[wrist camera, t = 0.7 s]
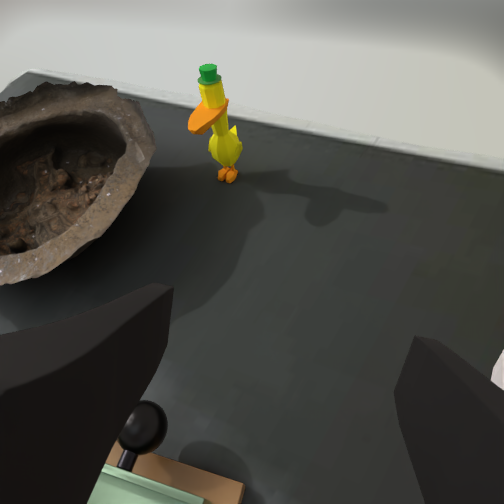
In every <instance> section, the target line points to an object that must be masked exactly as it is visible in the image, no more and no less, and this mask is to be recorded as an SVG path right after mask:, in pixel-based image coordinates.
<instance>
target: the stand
mask: <svg viewBox="0 0 504 504" xmlns="http://www.w3.org/2000/svg"><path fill="white" fill-rule="evenodd" d="M122 452H123V449H122V448H121V446H120V445H119V443H118V441H116V442H115V444H114V446H113V447H112V449H111V452H110V454H109V456H108V458H107V460H106V463H107V464H110V465H112V466H115V467H116V465H117V463H118V461H119V458H120V456H121V454H122ZM132 473H135V474H138V475H141V476H143V477H146V478H149V479H152V480H155V481H157V482H160V483H163V484H166V485H169V486H172V487H174V488H177V489H180V490H183V491H186V492H188V493H191V494H194V495H197V496H200V497H202V498H205V499H207V500H209V501H211V502H212V504H241V502H242V498H243V494H244V491H245V485H244V484H243V483H240V482H237V481H234V480H231V479H228V478H225V477H222V476H219V475H216V474H213V473H210V472H207V471H204V470H201V469H198V468H195V467H192V466H189V465H187V464H184V463H181V462H178V461H175V460H172V459H169V458H166V457H163V456H160V455H157V454H154V453H151V452H150V453H148V454H145V455H139V456H138V458H137V461H136V463H135V465H134V468H133V470H132Z"/></svg>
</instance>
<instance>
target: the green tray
mask: <svg viewBox="0 0 504 504" xmlns="http://www.w3.org/2000/svg"><path fill="white" fill-rule="evenodd" d="M167 428H168V422H167V417H166V414H165V412H164V410H163V409H162V408H161V407H160V406H159V405H158V404H156V403H154V402H152V401H148V400H141V401H139V402H138V404H137V405H136V407H135V409H134V410H133V412H132V414H131V416H130V417H129V419H128V421H127V422H126V424H125V426H124V427H123V429H122V431H121V433H120V434H119V436H118V438H117V441H118V443H119V445H120V446H121V448H122V449H123V452H122V454H121V456H120V458H119V461H118V463H117V465H116V467H115V466H112V465H110V464H107V463H105V465H104V467H103V469H102V471H101V473H100V476H99V478H98V480H97V482H96V484H95V487H94V489H93V491H92V493H91V496H90V498H89V500H88V503H87V504H212V502H211V501H209V500H207V499H205V498H202V497H200V496H197V495H194V494H191V493H188V492H186V491H183V490H180V489H177V488H174V487H172V486H169V485H166V484H163V483H160V482H157V481H155V480H152V479H149V478H146V477H143V476H141V475H138V474H135V473H132V470H133V468H134V465H135V463H136V461H137V458H138V456H139V455H145V454H148V453H150V452H152V451H154V450H155V449H157V448H158V447H159V446H160V445H161V443H162V442H163V440H164V438H165V436H166V433H167Z"/></svg>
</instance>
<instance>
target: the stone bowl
mask: <svg viewBox="0 0 504 504" xmlns="http://www.w3.org/2000/svg"><path fill="white" fill-rule="evenodd" d="M155 151H156V144H155V138H154V134H153V131H152V130H151V128H150V126H149V124H148V123H147V121H146V119H145V116H144V114H143V111H142V108H141V106H140V103H139V102H138V101H136V102H135V101H134V100H133V101H132V100H131V99H121V98H120V97H118V96H117V89H114V88H113V87H112V86H108V85H96V86H94V85H92V84H90V83H87V82H86V83H84V84H82V85H77V83H76V82H75V81H74V82H72V83H70V84H69V85H62V84H56V85H53V84H51V83H48V82H44V83H43V84H41V85H39V86H37V87H36V89H35V90H34V91H33V93H32V92H31V91H29V92H28V93H26V94H24V95H21V96H18V97H10V98H9V99H8V101H7V103H5V101H2V102H0V285H3V284H6V283H9V284H14V283H17V282H19V281H22V280H26V279H29V278H38V277H40V276H41V275H43V274H45V273H48V272H50V271H51V270H52V269H54V268H55V267H57V266H58V265H60V264H61V263H63V262H66V261H68V260H70V259H72V258H74V257H76V256H78V255H79V254H80V253H82V252H83V251H84V250H86V249H87V248H88V247H89V246H90V245H91V244H92V243H93V242H94V241H95V240H96V239H97V238H98V237H100V236H101V235H102V234H103V233H104V232H105V231H106V230H107V228H108V227H109V226H110V225H111V223H112V222H113V221H114V220H115V218H116V217H117V216H118V214H119V213H120V211H121V210H122V208H123V207H124V205H125V204H126V203H127V202H128V201H129V199H130V198H131V197H132V195H133V194H134V192H135V190H136V188H137V184H138V182H139V181H140V179H141V177H142V176H143V174H144V172H145V170H146V168H147V166H149V165H150V163H149V161H150V158H151V156H152V155H153V153H154V152H155Z"/></svg>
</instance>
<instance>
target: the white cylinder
mask: <svg viewBox="0 0 504 504" xmlns="http://www.w3.org/2000/svg"><path fill="white" fill-rule="evenodd" d="M491 381H492V382H493V383H495V384H496V385H497V386H498V387H500V388H501V389H502V390H504V350H503V352H502V354H501V355H500V357H499V359H498V361H497V362H496V364H495V366H494V367H493V372H492V377H491Z"/></svg>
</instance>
